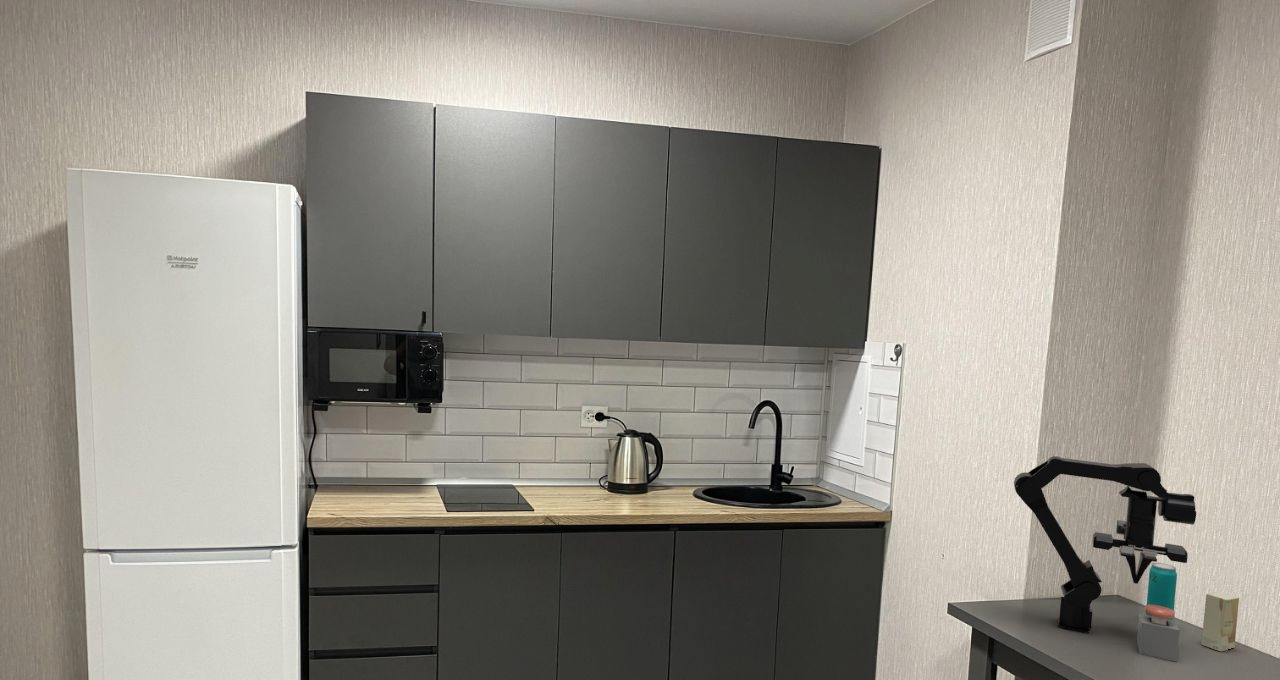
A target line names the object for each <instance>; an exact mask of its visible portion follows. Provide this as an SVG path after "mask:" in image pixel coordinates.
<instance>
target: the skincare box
mask: <svg viewBox="0 0 1280 680" xmlns="http://www.w3.org/2000/svg"><path fill="white" fill-rule="evenodd" d="M1204 603H1205V604H1204V605H1205V606H1204V613H1203V624H1202V632H1201V633H1202V635H1201V641H1200V642H1201V645H1202V646H1205V647H1207V648H1210V649H1212V650H1215V651H1218V652H1226V651H1229V650H1228V649H1231V648H1233V647H1234V648H1235V645H1236V635H1237V634H1236V633H1237V626H1238V623H1237V622H1238V613H1239V604H1240V597H1238V596H1234V595H1232V594H1229V593H1225V592H1222V591H1218V592H1210V593H1206V594H1205V602H1204ZM1231 650H1232V649H1231Z"/></svg>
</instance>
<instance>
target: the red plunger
mask: <svg viewBox="0 0 1280 680" xmlns="http://www.w3.org/2000/svg"><path fill="white" fill-rule="evenodd" d="M1144 612H1145V614H1146V613H1147V614H1150V615H1152V621H1151V622H1152V623H1157V624H1162V625H1166V621H1167V619H1173V620H1174V619H1175V614H1176V611H1175V610H1174V611H1173V610H1172V609H1169V608H1167V607H1163V606H1159V605H1151V604H1149V605H1147V604H1145V606H1144Z"/></svg>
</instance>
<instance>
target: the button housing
mask: <svg viewBox="0 0 1280 680" xmlns="http://www.w3.org/2000/svg"><path fill="white" fill-rule="evenodd" d="M1151 621H1152V616H1149V615H1146V614H1143V613H1138V626H1137V627H1138V628H1137V637H1136V645H1137V649H1138V653H1140V655H1144V656H1149V657H1153V658H1159V659H1163V660H1168V661H1172V662H1176V663H1177V661H1178V652H1179V650H1178V649H1179V641H1180V639H1179V638H1180V629H1179V626H1178V624H1177V621H1176V620H1174V619H1173V620H1169V619H1167V621H1166V625H1162V624H1157V623H1152V622H1151Z"/></svg>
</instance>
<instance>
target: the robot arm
mask: <svg viewBox="0 0 1280 680" xmlns="http://www.w3.org/2000/svg"><path fill="white" fill-rule="evenodd" d="M1047 459H1048V460H1046V461H1044V462H1043V463H1040V464H1039V465H1037V466H1035V467H1034V468H1033V469H1031V470H1029V471H1028V472H1021V473H1019V474H1017V475H1016V476H1015V477H1014V480H1013V486H1014V490H1015V493H1016V494H1017V496H1018V497H1019V498H1020V499H1021V500H1022V501H1023V502H1024V504H1025V505H1026V506H1027V507H1028V509H1030V511H1032V513H1033V514H1034V515H1035V517H1036V518H1037V520H1038V522H1039V523H1040V525H1041V527H1042V528H1043V530H1044V532H1045V534H1046V535H1047V537H1048V538H1049V540H1050V542H1051V543H1052V544H1051V545H1052V546H1053V547H1054V549H1055V552H1056V553H1057V554H1058V556H1059V557H1060V559H1061V560H1062V562H1063V564H1064V566H1065V569H1066V571H1067V574H1068V577H1069V580H1068V581H1066V582H1065V583H1063V584H1061V586H1060V589H1061V591H1062V595H1063V596H1060V601H1059V612H1058V613H1059V614H1058V618H1057V619H1058V620H1057V627H1059V628H1062V629H1063V628H1064V629H1067V630H1072V631H1077V632H1082V633H1085V634H1086V633H1087V634H1089V633H1090V629H1092V624H1093V623H1092V622H1093V609H1092V608H1091V604H1092V602H1093V601H1095V600H1097V599H1098V598H1099V597H1100V596H1101V595H1102V594H1101V593H1102V587H1101V583H1102V579H1101V577H1100V576H1099V574H1098V573H1097V571H1095V569H1094V567H1093V564H1092V563H1091V560H1089V559H1088V560H1086V561H1085V562H1084V561H1083V560H1082V559H1081V558H1080V556H1079V555H1078V554H1077V552H1076V551H1075V549H1074V547H1073V546H1072V544H1071V542H1070V540H1069V539H1068V537H1067V535H1066V534H1065V532H1064V530H1063V528H1062V527H1061V525H1060V524H1059V522H1058V521H1057V519H1056V517H1055V515H1054V513H1053V512H1052V510H1051V509H1050V507H1049V504H1048V503H1047V499H1046V497H1045V494H1044V491H1043V488H1044V487H1047V485H1049V484H1051V482H1052V481H1053V480H1055V479H1056V478H1057V477H1059V476H1060V475H1065V476H1073V477H1079V478H1080V477H1081V478H1088V479H1094V480H1101V481H1102V480H1103V481H1109V482H1110V481H1111V482H1115V483H1119V484H1122V485H1125V486H1126V487H1125V488H1123V489H1122V490H1120V491H1118V494H1119V495H1120V496H1121V497H1123V498H1127V510H1126V521H1125V520H1121V519H1120V520H1119V519H1118V520H1116V528H1115V529H1116V532H1115V533H1116V534H1117V535H1120V536H1121V535H1122V536H1123V540H1122V539H1118V538H1114V537H1113V534H1109V533H1103V532H1099V531H1096V532H1093V534H1092V547H1093V548H1095V549H1099V550H1106V551H1109V550H1110V549H1112V548H1113V547H1114V548H1119V549H1118V550H1119V551H1118V552H1119V554H1120V556H1121V557H1124V558H1125V560H1126V562H1127V564H1128V567H1129V570H1130V571H1129V572H1130V573H1131V574H1130V575H1131V580H1132V581H1133V584H1137V585H1138V584H1139V582H1140V580H1141V578H1142V577H1143V575H1144V573H1145V571H1146V570H1147V568H1148V567H1149V566H1150V565H1151V564H1152V563H1158V558H1157V556H1158V555H1160V556H1161V555H1162V556H1166V557H1167V558H1168V559H1169V561H1172V562H1176V563H1183V564H1187V563H1188V557H1189V556H1188V551H1187V550H1186V548H1185V547H1184V546H1183V545H1179V544H1173V543H1164V546H1160V545H1154V540H1155V539H1154V538H1155V529H1156V517H1157V514H1158V516H1159V517H1162V518H1163V522H1169V523H1170V522H1171V523H1176V524H1185V525H1194V524H1195V523H1196V519H1197V511H1196V503H1195V496H1194V495H1193V494H1190V493H1177V492H1176V493H1174V492H1168V490H1167V489H1166V488H1164V486H1163V484H1162V483H1161V482H1162V478H1161V477H1162V476H1161V475H1160V472H1159V471H1158V470H1157V469H1156V468H1154V467H1153V466H1151V465H1150V464H1147V463H1143V462H1135V463H1134V462H1133V463H1118V464H1113V463H1105V462H1097V461H1091V460H1090V461H1089V460H1082V459H1081V460H1080V459H1073V458H1067V457H1066V458H1064V457H1061V456H1057V455H1055V456H1051V457H1049V458H1047ZM1132 488H1134V489H1132ZM1136 489H1137V490H1136ZM1148 492H1151V493H1152V494H1154V495H1155V496H1152V495H1148ZM1157 504H1158V505H1157ZM1135 551H1136V552H1137V551H1138V552H1140V553H1139V559H1138V564H1137V565H1136V554H1135ZM1136 566H1137V567H1136Z"/></svg>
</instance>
